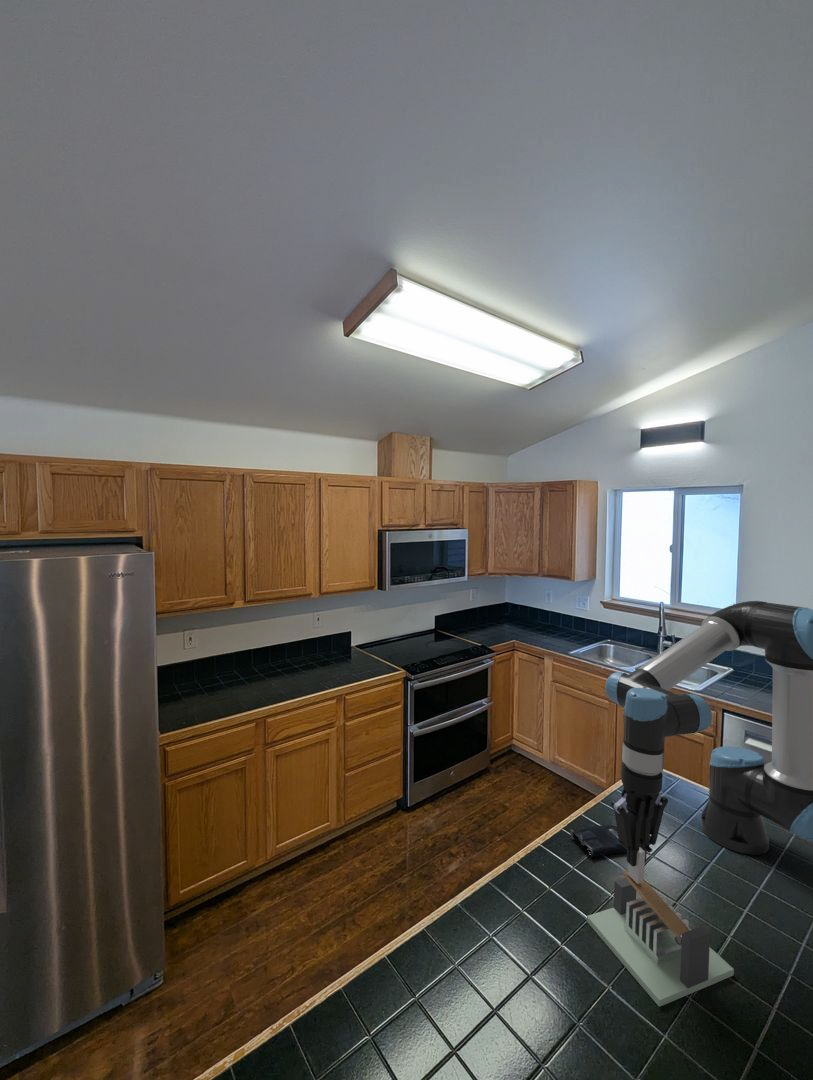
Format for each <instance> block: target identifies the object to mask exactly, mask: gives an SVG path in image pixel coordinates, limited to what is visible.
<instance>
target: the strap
mask: <svg viewBox="0 0 813 1080" xmlns="http://www.w3.org/2000/svg"><path fill="white" fill-rule="evenodd" d="M627 873H628V869H627V870H623V872H622V876H623V878H626V879H627V880H628V881H629V883H630V884H631V885H632V886H633V887H634V888H635V890H636V893H638V895H639V896H640V898H643V899H644V900H645V901H646V902H647V904H648V905H649V906H650V907H651V908H652V909H653V911H654V912H655V913H656V914H657V915H658V916H659V918H660V919H661V920H662V921H663V922H664V923H665V925H666V926H667V927H668V928H669V929H670V930H671V931H672V933H673V934H674V935H675V936H676V937H675V941H676V943H677V944H678V945H681V944H682V933H684V932H687V931H690V929H691V928H690V927H689V928H690V929H689V928H688V927H687V926H686V925H685V924H684V923H683V922H682V921H681V920H682V918H681V919H680V918H679V917H678V916H677V915H676V914H675V913H676V912H675V911H674V912H673V911H672V909H671V908H670V907H669V906H670V905H668V904H666V903H665V902H664V901H663V899H664V898H662V897H661V895H660V894H659V893H658V892H657V891H655V889H654V888H653V887H652V886H651V885H650V883H649V882H647V881H646V879H645V878H644V881H643V883H639V884H637V883H636V882H635V881H634V880H633V879H632V878H631V877H630V876H629V875H628V874H627ZM657 893H658V894H659V895H660V896H659V895H658V894H657Z"/></svg>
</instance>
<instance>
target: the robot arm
mask: <svg viewBox="0 0 813 1080" xmlns="http://www.w3.org/2000/svg"><path fill="white" fill-rule="evenodd" d="M743 646H745V647H748V646H749V647H755V648H757V649H762V650H764V661H765V662H766V663H767V664H769V665H770V666H771V668H772V695H771V697H772V699H771V700H772V702H771V703H772V705H771V706H772V707H771V708H772V709H771V710H772V712H771V713H772V714H771V717H772V718H771V719H772V721H771V726H772V727H771V761H769V762H768V763H766V760H765V758H764V756H763V755H762V754H761V753H759V752H757V751H755V750H751V749H749V748H744V747H738V746H727V745H726V746H718V747H716V748H713V750H712V751H711V755H710V761H709V789H708V793H709V794H708V800H707V803H706V805H705V807H704V809H703V811H702V813H701V815H700V829H701V831H702V832H703V833H704V834H705V836H707V837H708V838H709V839H710V840H712V841H713V842H714V843H716V844H718V845H720V846H722V847H723V848H725V849H728V850H731V851H732V852H733V851H734V852H736V853H740V854H743V855H744V854H745V855H752V856H754V855H755V856H759V855H764V854H766V853H767V852H768V851H769V849H770V837H769V833H768V831H767V829H766V825H765V822H764V818H766V819H768V820H769V821H771V822H772V823H775V824H776V825H778V826H780V827H781V828H784V829H786V830H787V831H789V832H790V833H791V834H793V835H796V836H798V837H800V838H802V839H804V840H806V841H808V842H812V843H813V609H812V608H808V607H802V606H797V605H796V606H795V605H788V604H782V603H773V602H767V601H762V600H761V601H760V600H749V601H743V602H737V603H734V604H731V605H729V606H726V607H724V608H721V609H720V610H719V609H718V610H717V611H715V612H714V613H712V614H709V616H707V617H706V618H704V619H703V620H702V622H701V626H700V627H698V628H697V629H695V630H693V631H692V632H691V633H689V634H687V635H686V636H685V637H683V638H682V639H680V640H679V641H677V642H676V643H674V644H673V645H671V646H669V647H668V648H667V649H665V650H664V651H662V652H660V653H659V654H657V655H656V656H655V657H653V658H651V659H650V660H649V661H647V662H645V663H644V664H642V665H641V666H639V667H637V669H636V670H633V671H632V672H630V673H629V674H628V673H626V672H621V671H616V672H613V673H611V674H610V675H609V676H608V678H607V679H606V682H605V685H604V686H605V687H604V688H605V694H606V696H607V698H608V699H609V700H610V701H612V702H614V703H615V704H617V705H618V706H620V707H621V708H623V712H624V714H623V718H624V719H623V720H624V721H623V738H622V753H621V756H622V757H621V760H622V762H621V768H620V769H621V770H620V780H621V783H622V786H623V788H622V791H621V794H620V796H621V797H620V799H619V800H618V801H616V800H612V801H611V803H610V806H611V808H612V810H613V811H614V816H615V817H614V818H615V822H616V824H615V826H617V832H618V839H619V843H620V844H621V845H623V846H624V847H625V848H626V849H627V852H626V861H627V870H628V873H627V874H628V875H629V876H630V877H631V878H632V879H633V880H634V881H635V882H636V883H637V884H639V883H643V881H644V879H645V878H644V877H645V864H646V862H647V855H648V853H651V852H653V848H651V847H650V846H655V845H656V844H657V839H658V836H659V832H660V828H661V827H660V826H661V823H662V819H663V815H664V811H665V809H666V806H667V805H668V802H669V799H668V798H667V797H665V796H664V795H663V794H662V793H660V792H661V791H662V790H663V776H664V775H663V771H664V763H665V742H666V741H665V740H666V738H668V737H673V736H679V735H680V736H681V735H688V734H696V733H698V732H701V731H705V730H707V729H709V727H711V724H712V722H713V712H712V710H711V707H710V705H709V703H708V702H707V701H706V699H704V698H703V697H701V696H699V695H697V694H694V693H689V694H688V693H683V694H678V693H675V692H673V691H670V690H671V689H673V688H674V687H675V686H677V685H678V684H679V683H681V682H683V681H684V680H685V679H686V678H688V677H691V675H693V674H695V672H697V671H698V670H699V669H701V668H702V667H704V666H705V665H707V664H708V663H710V662H711V661H713V660H714V659H715V658H717V657H718V656H720V655H721V654H723V653H724V652H725V651H727V652H732V651H734V650H736V649H738V648H740V647H743ZM763 817H764V818H763ZM647 852H648V853H647Z"/></svg>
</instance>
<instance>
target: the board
mask: <svg viewBox="0 0 813 1080" xmlns="http://www.w3.org/2000/svg"><path fill="white" fill-rule="evenodd" d="M613 888H614V889H613V907H611V908H608V909H604V910H602V911H599V912H596V913H593V914H589V915H587V916H586V923H587V924H588V925H589V926H590V927H591V929H593V930H594V932H595V933H596V934H597V935H598V936H599V938H600V939H601V940H602V941H603V942H604V943H605V945H606V946H607V947H608V948H609V949H610V950H611V952H612V953H613V954H614V955H615V957H616V958H617V959H618V961H620V963H621V964H622V965H623V966H624V967H625V969H627V971H628V972H629V973H630V975H632V977H633V978H634V979H635V980H636V982H637V983H638V984H639V985H640V986H641V987H642V989H643V990H644V991H645V993H647V995H649V997H650V998H651V999H652V1001H654V1002H655V1005H657V1006H658V1007H659V1008H660V1007H662V1006H665V1005H667V1004H670V1003H672V1002H675V1001H677V1000H679V999H682V998H683V997H686V996H688V995H690V994H693V993H696V992H697V991H700V990H702V989H705V988H707V987H710V986H712V985H715V984H717V983H719V982H721V981H724V980H725V979H729V978H731V977H733V976H734V973H735V970H734V968H733V967H732V966H731V965H730V964H729V963H728V962H727V961H726V960H725V959H723V958H722V956H720V955H719V954H718V953H717V952H716V951H714V949H712V948H711V947H710V946H711V945H710V944H711V932H710V931H709V930H708V929H706V927H705V926H703V925H701V926H698V927H695V928H692V929H691V928H690V927H689V929H690V931H687V932H684V933H682V944H681V956H680V957H678V958H675V959H673V960H670V961H667V962H665V963H662V964H660V965H657V964H656V963H655V962H654V961H653V960H652V959H651V958H650V957H649V956H648V955H647V954H646V952H645V951H644V950H643V949H642V948H641V947H640V946H639V945H638V944H637V943H636V942H635V941H634V939H633V938H632V937H631V936H630V935H629V934H628V933H627V932H626V931H625V930H624V923H625V922H626V906H627V902H630V901H633V900H636V899H637V891H636V890H635V888H634V887H633V886H632V885H631V884H630V883H629V881H628V880H627V879H626V878H625V877H622V878H619V879H616V880H614V887H613Z"/></svg>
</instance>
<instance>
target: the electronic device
mask: <svg viewBox="0 0 813 1080" xmlns="http://www.w3.org/2000/svg"><path fill="white" fill-rule="evenodd" d="M569 834H570V839H571V840H573V841H574V842H575V843H576V844H577V845H578V846H579V848H581V849H582V851H584V852H585V853H587V854H588V853H589V852H591V854H592V855H588V856H589V857H590V858H594V857H599V856H604V855H610V854H614V853H618V854H621V853H622V854H623V853H627V849H626V848H625V847H624V846H623V845H621V844H620V843H619V839H618V832H617V825H614V824H601V825H595V826H591V827H585V828H582V829H580V830H579V829H578V831H575V829H569ZM578 842H579V843H578ZM580 843H581V844H582V845H581V844H580ZM583 845H585V846H583ZM587 846H588V847H589V848H590V849H591V851H590V850H587V848H588V847H587ZM588 851H589V852H588Z"/></svg>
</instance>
